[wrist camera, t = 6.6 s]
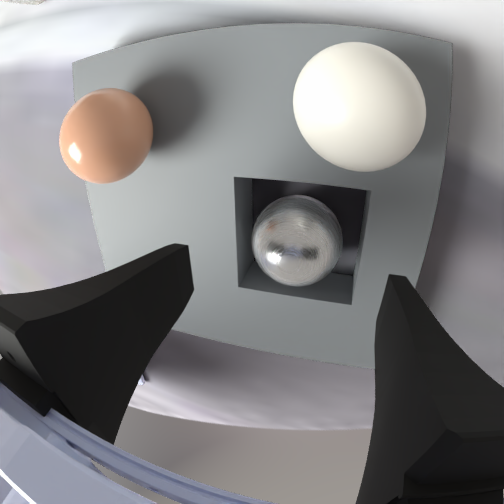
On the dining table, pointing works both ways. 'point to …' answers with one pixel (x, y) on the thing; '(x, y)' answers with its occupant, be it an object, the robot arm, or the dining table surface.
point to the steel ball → (297, 240)
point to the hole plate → (263, 167)
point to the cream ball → (359, 106)
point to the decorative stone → (25, 1)
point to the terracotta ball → (106, 135)
